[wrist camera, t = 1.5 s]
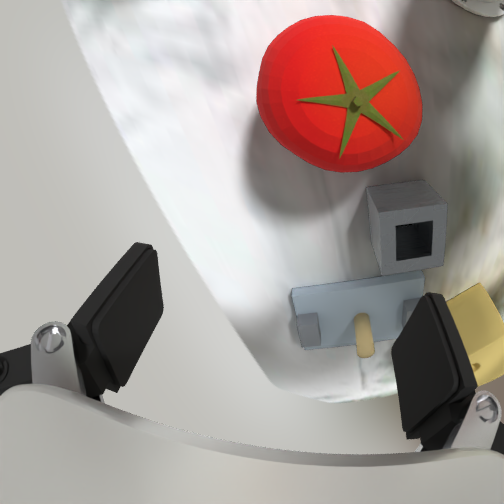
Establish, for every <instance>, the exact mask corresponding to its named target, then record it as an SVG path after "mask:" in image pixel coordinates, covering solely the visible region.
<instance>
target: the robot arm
mask: <svg viewBox="0 0 504 504" xmlns="http://www.w3.org/2000/svg"><path fill="white" fill-rule="evenodd" d="M452 1H453V2H454V3H456V4H457V5H459V6H460V7H462V8H464V9H465V10H467V11H470V12H472V13H474V14H477V15H480V16H484V17H496V16H501V15H504V0H452ZM163 308H164V307H163V299H162V291H161V285H160V275H159V266H158V257H157V251H156V250H153V247H152V245H149V244H143V243H138V242H136V243H134V244H133V245H132V246H131V248H130V249H129V250H128V251H127V252H126V253H125V255H124V256H123V257H122V258H121V259H120V260H119V261H118V262H117V264H116V265H115V266H114V267H113V268H112V269H111V271H110V272H109V273H108V274H107V275H106V277H105V278H104V279H103V280H102V281H101V283H100V284H99V285H98V286H97V287H96V289H95V290H94V291H93V292H92V294H91V295H90V296H89V297H88V299H87V300H86V301H85V302H84V304H83V305H82V306H81V307H80V309H79V310H78V311H77V313H76V314H75V315H74V316H73V318H72V319H71V321H70V322H69V324H68V325H65V324H63V323H61V322H56V321H55V322H49V323H46V324H44V325H42V326H41V327H39V328H38V329H37V330H36V331H35V332H34V335H33V336H32V339H31V344H29V345H26V346H23V347H20V348H17V349H14V350H10V351H7V352H3V353H0V504H504V424H503V423H501V422H500V419H501V407H500V404H499V402H498V400H497V398H496V397H495V396H494V395H493V394H491V393H489V392H488V391H479V392H478V393H475V389H476V388H477V387H478V384H477V381H476V378H475V375H474V372H473V369H472V366H471V363H470V360H469V357H468V355H467V352H466V349H465V347H464V344H463V341H462V339H461V336H460V334H459V331H458V329H457V326H456V324H455V322H454V319H453V317H452V315H451V312H450V310H449V308H448V306H447V303H446V301H445V299H444V297H443V295H441V294H437V293H430V292H428V293H426V294H425V296H422V297H421V298H420V300H419V301H418V303H417V305H416V307H415V309H414V311H413V312H412V314H411V316H410V318H409V319H408V321H407V323H406V325H405V326H404V328H403V330H402V331H401V333H400V335H399V336H398V338H397V340H396V341H395V343H394V345H393V347H392V359H393V365H394V371H395V377H396V383H397V389H398V396H399V403H400V411H401V420H402V428H403V431H405V432H406V437H407V439H418V438H420V440H421V444H420V445H419V447H418V448H417V450H416V451H415V452H411V453H398V454H397V453H396V454H370V455H368V454H366V455H358V454H357V455H354V454H352V455H351V454H325V453H310V452H299V451H289V450H280V449H273V448H266V447H259V446H253V445H247V444H242V443H236V442H231V441H226V440H222V439H217V438H213V437H208V436H204V435H200V434H196V433H192V432H188V431H185V430H181V429H177V428H174V427H171V426H167V425H164V424H161V423H158V422H155V421H151V420H149V419H146V418H143V417H140V416H137V415H133V414H131V413H128V412H125V411H122V410H120V409H117V408H114V407H112V406H109V405H107V404H105V403H104V400H103V396H102V394H103V393H104V391H105V389H108V390H111V391H114V392H116V393H117V392H118V390H119V388H120V386H122V387H123V386H125V384H126V383H127V381H128V379H129V377H130V375H131V373H132V371H133V369H134V367H135V366H136V363H137V362H138V360H139V358H140V356H141V354H142V352H143V350H144V348H145V346H146V344H147V342H148V340H149V339H150V337H151V335H152V333H153V331H154V329H155V327H156V325H157V323H158V321H159V320H160V318H161V316H162V314H163Z"/></svg>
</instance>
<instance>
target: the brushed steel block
mask: <svg viewBox="0 0 504 504" xmlns="http://www.w3.org/2000/svg"><path fill="white" fill-rule="evenodd" d="M366 193H367V202H368V211H369V221H370V233H371V243H372V246H373V249H374V252H375V256H376V259H377V262H378V265H379V268H380V272H381V275H382V276H384V275H391V274H397V273H403V272H410V271H416V270H422V269H427V268H433V267H439V266H443V263H444V253H445V242H446V226H447V203H446V202H445V200H444V199H443V198H442V197H441V196H440V195H439V194H438V193H437V192H436V191H435V190H434V189H433V188H432V187H431V186H430V185H429V184H428V183H427V182H426V181H425V180H418V181H410V182H402V183H394V184H386V185H379V186H372V187H366ZM411 223H413V225H410V226H403V227H396V228H395V226H397V225H404V224H411Z"/></svg>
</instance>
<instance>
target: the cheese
mask: <svg viewBox="0 0 504 504" xmlns="http://www.w3.org/2000/svg"><path fill="white" fill-rule="evenodd" d="M446 303H447V306H448V308H449V310H450V312H451V315H452V317H453V319H454V322H455V324H456V326H457V329H458V331H459V334H460V336H461V339H462V341H463V344H464V347H465V349H466V352H467V355H468V357H469V360H470V363H471V366H472V369H473V372H474V375H475V378H476V381H477V384H478V386H480V385H483V384H485V383H488V382H490V381H492V380H494V379H496V378H498V377H500V376H502V375H503V374H504V323H503V320H502V318H501V316H500V314H499V312H498V310H497V309H496V307H495V305H494V303H493V301H492V300H491V298H490V296H489V295H488V293H487V292H486V290H485V289H484V287H483V286H482V285H481V283H478V284H476V285H475V286H473V287H471V288H469V289H468V290H466V291H464V292H463V293H461V294H459V295H457V296H456V297H454V298H452V299H451V300H449V301H447V302H446Z"/></svg>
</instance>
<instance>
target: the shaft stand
mask: <svg viewBox="0 0 504 504" xmlns="http://www.w3.org/2000/svg"><path fill="white" fill-rule="evenodd" d="M424 281H425V277H424V275H423V272H422V270H418V271H412V272H406V273H399V274H393V275H387V276H380V277H373V278H367V279H360V280H353V281H346V282H338V283H331V284H323V285H316V286H308V287H299V288H292V300H293V304H294V308H295V312H296V316H297V329H298V333H299V337H300V341H301V345H302V347H304V349H305V350H310V349H321V348H330V347H340V346H348V345H357V355H358V356H359V357H361V358H368V357H371V356H372V355H373V354H374V352H375V350H374V343H373V342H378V341H384V340H391V339H397V338H398V336H399V335H400V333H401V331H402V330H403V328H404V326H405V325H406V323H407V321H408V319H409V318H410V316H411V314H412V312H413V311H414V309H415V307H416V305H417V303H418V301H419V300H420V298H421V297H422V296H423V291H424Z"/></svg>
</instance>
